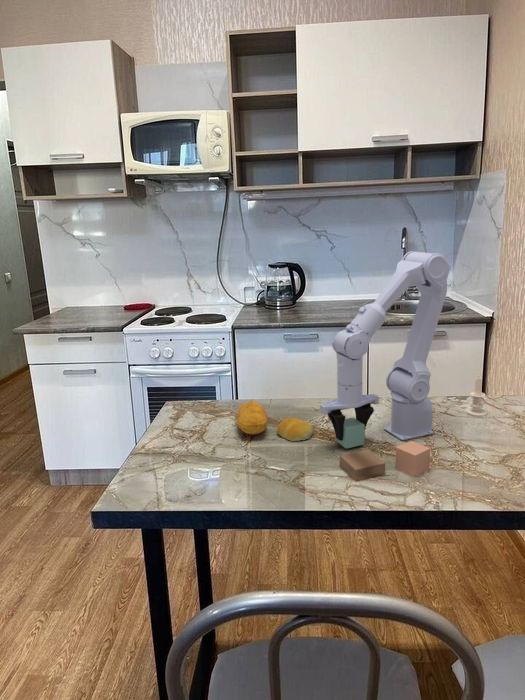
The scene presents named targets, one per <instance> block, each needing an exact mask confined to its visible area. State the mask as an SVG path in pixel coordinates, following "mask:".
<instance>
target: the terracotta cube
mask: <svg viewBox="0 0 525 700" xmlns="http://www.w3.org/2000/svg"><path fill="white" fill-rule="evenodd" d="M430 462H431V448H430V447H429V446H425V445H423V444H420V443H418V442H415V441H412V440H409V441H407V442H405V443H403V444H400V445H398V446H396V447H395V463H394V464H395V469H396V470H398V471H400V472H403V473H404V474H406V475H408V476H411V477H413V478H415V477H418V476H419V475H421V474H424V473H426V472H427V471H429V470H430V465H431V463H430Z"/></svg>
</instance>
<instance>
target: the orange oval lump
mask: <svg viewBox="0 0 525 700" xmlns="http://www.w3.org/2000/svg"><path fill="white" fill-rule="evenodd" d="M236 422H237V423H236V424H237V427H238V428H239V430H241V431H243V433H245V434H247V435H258V434H260V433H262V432H265V430H266V429H267V426H268V415H267V412H266V410H265V408H264V406H262V405H261V404H260V403H259V402H258V401H254V400H253V401H252V400H251V401H246V402H244V403H243V404H241V405H240V406H238V410H237V414H236Z"/></svg>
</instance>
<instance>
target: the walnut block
mask: <svg viewBox="0 0 525 700" xmlns="http://www.w3.org/2000/svg"><path fill="white" fill-rule="evenodd" d="M339 468H341V470H343V471H344V472H345V473H346V474H347V475H348V476H349V477H350V478H351V479H352V480H353V481H354V482H359V481H364V480H368V479H373V478H376V477H382V476H385V475H386V462H385V461H383V460H382V459H380V458H379V456H377V455H376V454H375V453H374V452H372V451H370V450H369V449H363V450H359V451H354V452H348V453H345V454H341V455H339Z"/></svg>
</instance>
